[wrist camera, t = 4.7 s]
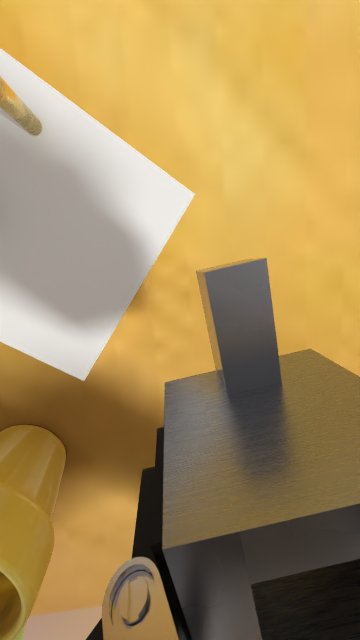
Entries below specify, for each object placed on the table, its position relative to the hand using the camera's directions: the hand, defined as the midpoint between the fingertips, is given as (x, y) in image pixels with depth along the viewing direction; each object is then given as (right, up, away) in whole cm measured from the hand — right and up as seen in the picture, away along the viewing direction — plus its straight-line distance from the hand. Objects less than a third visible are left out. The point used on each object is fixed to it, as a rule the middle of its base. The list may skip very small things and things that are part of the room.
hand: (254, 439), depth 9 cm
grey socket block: (-1, +2, 0) cm, 2 cm away
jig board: (-14, +11, +6) cm, 19 cm away
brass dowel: (-12, +16, +4) cm, 20 cm away
